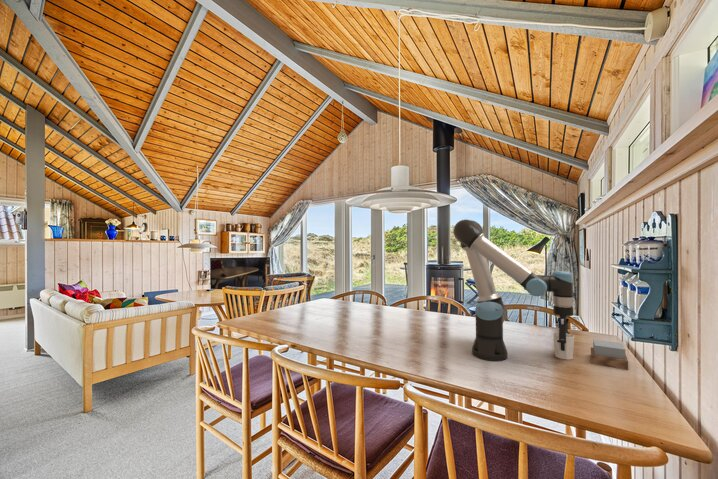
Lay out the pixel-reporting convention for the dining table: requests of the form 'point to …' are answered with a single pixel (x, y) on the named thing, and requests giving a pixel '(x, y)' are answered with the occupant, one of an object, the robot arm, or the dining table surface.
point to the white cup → (569, 345)
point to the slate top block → (609, 349)
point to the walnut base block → (609, 361)
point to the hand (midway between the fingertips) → (563, 353)
